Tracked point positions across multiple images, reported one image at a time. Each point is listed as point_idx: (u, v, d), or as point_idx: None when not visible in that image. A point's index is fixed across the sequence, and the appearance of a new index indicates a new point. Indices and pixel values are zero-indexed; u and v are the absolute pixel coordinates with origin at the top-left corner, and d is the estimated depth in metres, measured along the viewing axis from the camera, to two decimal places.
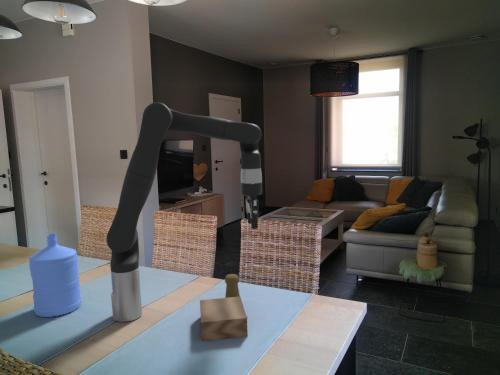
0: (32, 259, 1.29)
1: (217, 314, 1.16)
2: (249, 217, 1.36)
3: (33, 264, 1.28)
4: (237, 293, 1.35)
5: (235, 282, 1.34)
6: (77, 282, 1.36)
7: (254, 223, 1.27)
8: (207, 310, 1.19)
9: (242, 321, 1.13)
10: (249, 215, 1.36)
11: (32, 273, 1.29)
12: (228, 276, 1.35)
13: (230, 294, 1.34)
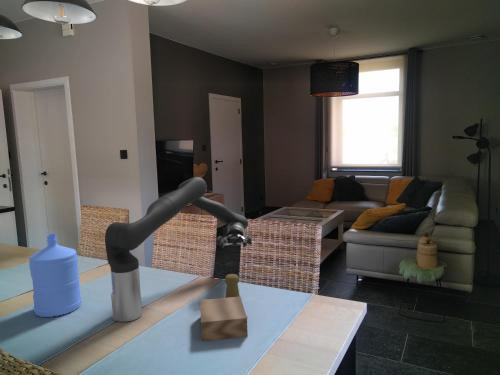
0: (32, 259, 1.29)
1: (217, 314, 1.16)
2: (223, 242, 1.48)
3: (33, 264, 1.28)
4: (237, 293, 1.35)
5: (235, 282, 1.34)
6: (77, 282, 1.36)
7: (246, 242, 1.48)
8: (207, 310, 1.19)
9: (242, 321, 1.13)
10: (223, 242, 1.49)
11: (32, 273, 1.29)
12: (228, 276, 1.35)
13: (230, 294, 1.34)
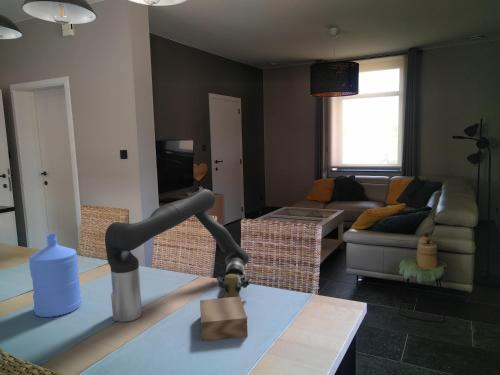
0: (32, 259, 1.29)
1: (217, 314, 1.16)
2: None
3: (33, 264, 1.28)
4: (237, 293, 1.35)
5: (235, 282, 1.34)
6: (77, 282, 1.36)
7: (240, 286, 1.35)
8: (207, 310, 1.19)
9: (242, 321, 1.13)
10: None
11: (32, 273, 1.29)
12: (228, 276, 1.35)
13: (230, 294, 1.34)
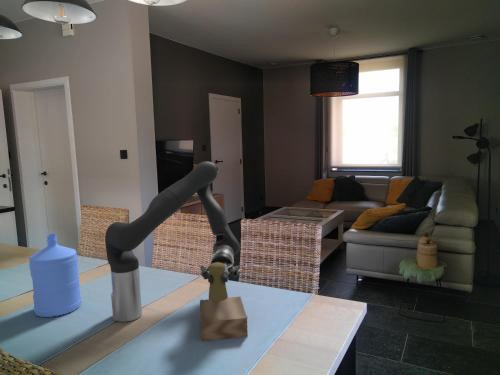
0: (32, 259, 1.29)
1: (217, 314, 1.16)
2: None
3: (33, 264, 1.28)
4: (223, 285, 1.14)
5: (220, 272, 1.13)
6: (77, 282, 1.36)
7: (227, 277, 1.14)
8: (207, 310, 1.19)
9: (242, 321, 1.13)
10: None
11: (32, 273, 1.29)
12: (212, 265, 1.14)
13: (215, 286, 1.13)
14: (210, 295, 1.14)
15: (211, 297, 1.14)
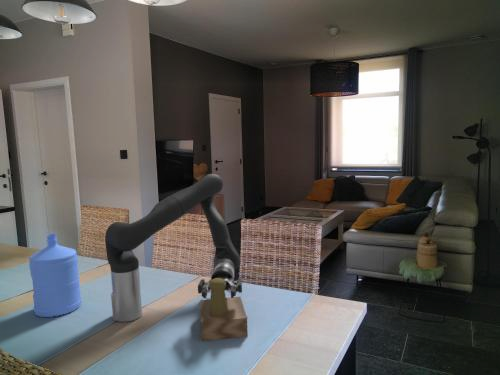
0: (32, 259, 1.29)
1: None
2: (206, 290, 1.16)
3: (33, 264, 1.28)
4: (223, 301, 1.15)
5: (221, 288, 1.13)
6: (77, 282, 1.36)
7: (235, 291, 1.16)
8: (207, 310, 1.19)
9: (242, 321, 1.13)
10: (206, 290, 1.17)
11: (32, 273, 1.29)
12: (213, 281, 1.15)
13: (215, 302, 1.14)
14: (211, 311, 1.15)
15: (212, 313, 1.14)
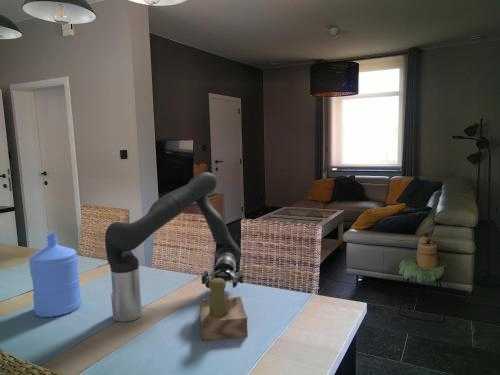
0: (32, 259, 1.29)
1: None
2: (209, 281, 1.24)
3: (33, 264, 1.28)
4: (223, 301, 1.15)
5: (221, 288, 1.13)
6: (77, 282, 1.36)
7: (237, 282, 1.24)
8: (207, 310, 1.19)
9: (242, 321, 1.13)
10: None
11: (32, 273, 1.29)
12: (213, 281, 1.15)
13: (215, 302, 1.14)
14: (211, 311, 1.15)
15: (212, 313, 1.14)
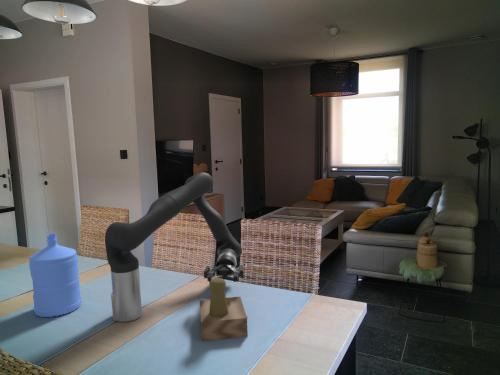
0: (32, 259, 1.29)
1: None
2: (211, 275, 1.29)
3: (33, 264, 1.28)
4: (223, 301, 1.15)
5: (221, 288, 1.13)
6: (77, 282, 1.36)
7: (238, 276, 1.29)
8: (207, 310, 1.19)
9: (242, 321, 1.13)
10: (212, 275, 1.30)
11: (32, 273, 1.29)
12: (213, 281, 1.15)
13: (215, 302, 1.14)
14: (211, 311, 1.15)
15: (212, 313, 1.14)
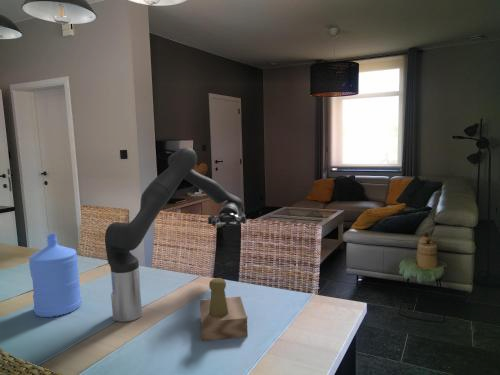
0: (32, 259, 1.29)
1: None
2: (215, 220, 1.37)
3: (33, 264, 1.28)
4: (224, 301, 1.15)
5: (221, 288, 1.13)
6: (77, 282, 1.36)
7: (240, 221, 1.37)
8: (207, 310, 1.19)
9: (242, 321, 1.13)
10: (215, 220, 1.38)
11: (32, 273, 1.29)
12: (213, 281, 1.15)
13: (216, 302, 1.14)
14: (211, 311, 1.15)
15: (212, 313, 1.14)
